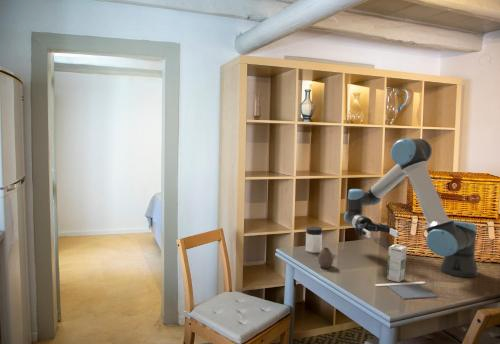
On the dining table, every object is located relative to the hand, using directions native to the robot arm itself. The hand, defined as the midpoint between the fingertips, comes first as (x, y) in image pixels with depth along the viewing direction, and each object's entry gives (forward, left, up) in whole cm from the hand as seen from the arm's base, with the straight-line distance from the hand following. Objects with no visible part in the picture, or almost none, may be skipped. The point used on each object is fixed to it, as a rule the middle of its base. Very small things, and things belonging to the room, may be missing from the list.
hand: (384, 235), depth 182 cm
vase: (+23, -9, -17) cm, 30 cm away
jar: (+20, -34, -17) cm, 43 cm away
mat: (0, +24, -17) cm, 29 cm away
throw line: (0, +16, -17) cm, 23 cm away
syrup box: (-1, +11, -17) cm, 20 cm away
